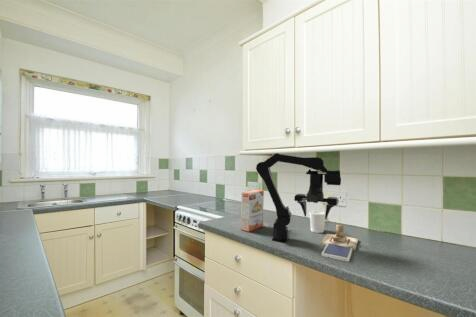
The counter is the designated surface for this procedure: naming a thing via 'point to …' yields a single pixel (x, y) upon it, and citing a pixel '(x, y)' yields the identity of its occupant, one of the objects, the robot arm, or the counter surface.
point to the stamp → (339, 234)
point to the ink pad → (337, 252)
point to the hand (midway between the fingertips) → (315, 217)
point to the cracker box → (252, 210)
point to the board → (348, 243)
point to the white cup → (317, 221)
